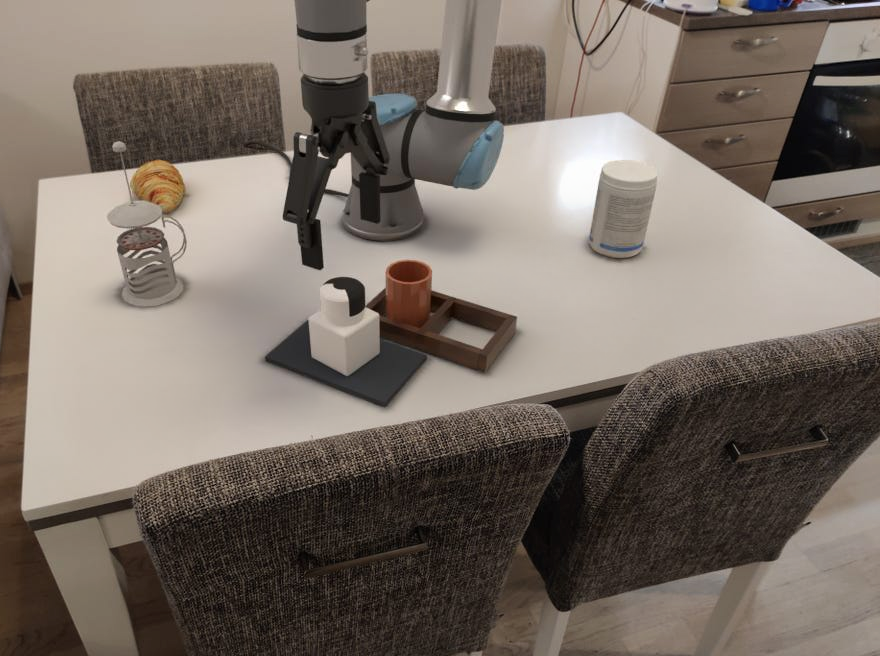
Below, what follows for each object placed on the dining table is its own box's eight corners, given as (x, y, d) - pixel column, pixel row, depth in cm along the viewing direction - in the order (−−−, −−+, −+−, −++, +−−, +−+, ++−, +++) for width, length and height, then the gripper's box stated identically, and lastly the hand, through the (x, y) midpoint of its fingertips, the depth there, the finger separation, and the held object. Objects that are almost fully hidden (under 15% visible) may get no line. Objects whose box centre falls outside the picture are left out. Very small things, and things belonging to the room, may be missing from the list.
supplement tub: (652, 251, 131) (672, 173, 122) (615, 265, 126) (633, 186, 117) (612, 229, 137) (628, 154, 128) (576, 242, 133) (589, 166, 124)
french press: (119, 280, 121) (80, 133, 106) (190, 268, 124) (162, 124, 109) (123, 311, 114) (82, 159, 98) (198, 297, 117) (170, 148, 102)
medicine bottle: (344, 335, 108) (340, 265, 101) (380, 353, 105) (380, 282, 97) (310, 357, 104) (304, 286, 96) (347, 378, 100) (344, 305, 93)
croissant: (188, 230, 142) (201, 193, 139) (137, 217, 136) (149, 178, 133) (165, 186, 157) (177, 152, 154) (118, 172, 151) (129, 136, 148)
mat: (265, 360, 104) (264, 356, 104) (313, 319, 113) (312, 315, 112) (385, 407, 97) (384, 402, 96) (426, 359, 105) (427, 354, 104)
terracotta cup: (377, 326, 111) (377, 275, 106) (399, 304, 116) (400, 255, 111) (416, 339, 109) (418, 288, 103) (437, 316, 114) (439, 267, 108)
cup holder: (358, 329, 111) (357, 312, 109) (394, 294, 118) (394, 278, 117) (485, 372, 103) (486, 356, 101) (515, 332, 110) (517, 316, 109)
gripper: (295, 115, 70) (311, 297, 84) (417, 49, 87) (414, 209, 101) (234, 101, 73) (259, 279, 86) (364, 40, 90) (368, 197, 103)
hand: (343, 242), depth 94 cm, fingers open, 13 cm apart
